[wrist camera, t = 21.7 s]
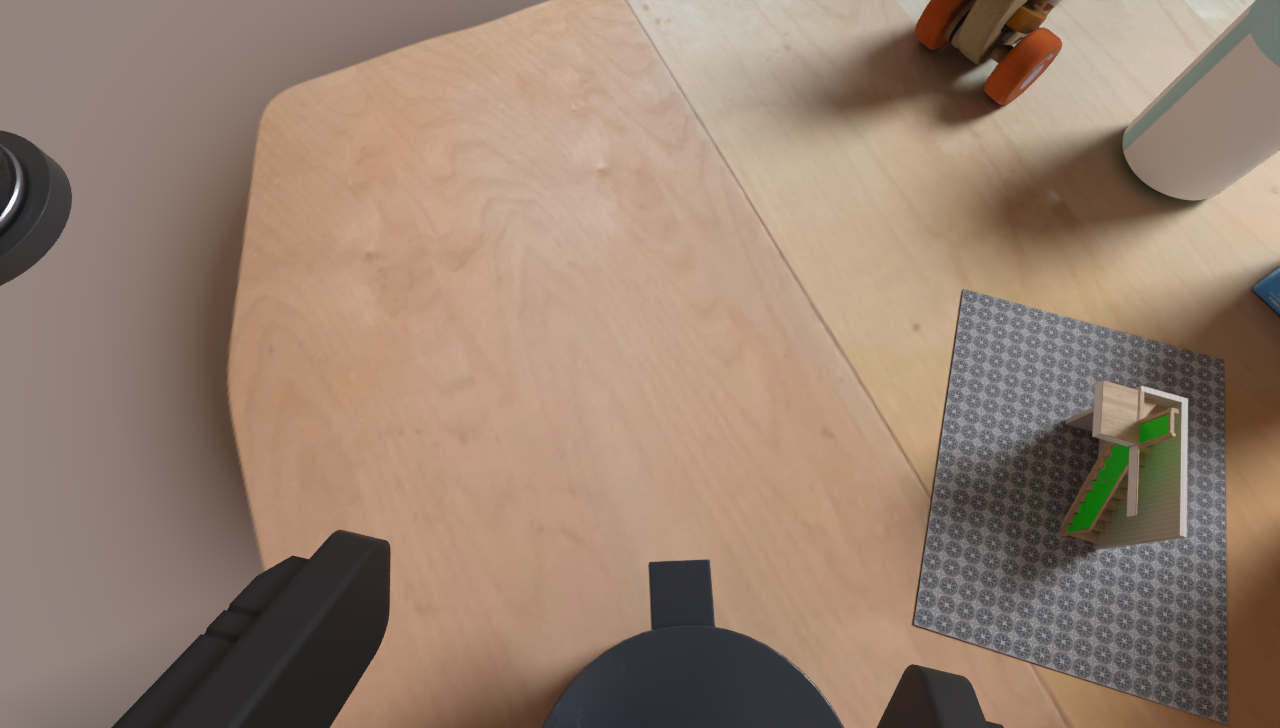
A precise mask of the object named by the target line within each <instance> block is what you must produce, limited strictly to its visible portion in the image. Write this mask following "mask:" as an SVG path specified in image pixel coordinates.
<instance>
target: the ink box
mask: <svg viewBox="0 0 1280 728" xmlns="http://www.w3.org/2000/svg"><path fill="white" fill-rule="evenodd" d="M1253 290H1254V291H1255V292H1256V293H1257V294H1258V295H1259V296H1260V297H1261V298H1262V299H1263V300H1264V301H1265V302H1267V303H1268V304H1269V306H1271V307H1272V308H1273V309H1274V310H1275V311H1276V312H1277V313H1278V314H1279V315H1280V267H1278V268H1277V269H1276V270H1274V271H1273V272H1272V273H1270V274H1269V275H1268V276H1266V277H1265V278H1264V279H1262V280H1261V281H1260V282H1259V283H1257V284H1256V285H1255V286H1254V287H1253Z"/></svg>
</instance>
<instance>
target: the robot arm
mask: <svg viewBox="0 0 1280 728" xmlns="http://www.w3.org/2000/svg"><path fill="white" fill-rule="evenodd" d="M28 194H29V176H28V172H27V170H26V167H25V166H24V164H23V163H22V161H21V160H20V159H19V158H18V157H17V156H16V155H15V154H13V153H12V152H11V151H9V150H8V149H7V148H5V147H4V146H3V145H1V144H0V237H1V236H2V235H3V234H4V233H5V232H6V231H7V230H8V229H9V228H10V227H11V226H12V225H13V224H14V222H15V221H16V220H17V218H18V217H19V215H20V214H21V212H22V210H23V208H24V206H25V204H26V201H27V198H28ZM389 607H390V545H389V542H388V541H386V540H382V539H378V538H374V537H369V536H365V535H361V534H357V533H353V532H348V531H344V530H338V531H335V532H334V533H333V534H332V535H331V536H330V537H329V538H328V539H327V540H326V541H325V542H324V543H323V544H322V546H321V547H320V548H319V549H318V550H317V551H316V552H315V553H314V555H313V556H312V557H311V558H310V559H305V558H301V557H296V556H291V557H289V558H288V559H286V560H284V561H282V562H281V563H279V564H277V565H275V566H274V567H272V568H270V569H268V570H267V571H265V572H263V573H262V574H260V575H258V576H256V577H255V579H254V580H253V581H252V582H251V583H250V584H249V585H248V586H247V587H246V588H245V589H244V590H243V591H242V592H241V593H240V594H239V595H238V596H237V597H236V598H235V599H234V601H232V603H231V604H230V606H229V608H228V610H227V611H226V610H224V611H223V612H222V613H221V614H220V615H219V616H218V617H217V618H216V619H215V620H214V621H213V622H212V623H211V624H210V625H209V627H208V628H207V631H206V633H205V634H204V635H200V636H199V637H198V638H197V639H196V640H195V641H194V642H193V643H192V644H191V646H189V647H188V648H187V649H186V651H185V652H184V653H183V654H182V655H181V656H180V657H179V658H178V659H177V660H176V661H175V662H174V663H173V664H172V665H171V666H170V667H169V668H168V669H167V670H166V671H165V672H164V673H163V674H162V675H161V677H160V678H159V679H158V680H157V681H156V682H155V683H154V684H153V685H152V686H151V687H150V688H149V689H148V690H147V691H146V692H145V693H144V694H143V695H142V696H141V697H140V698H139V699H138V700H137V702H136V703H135V704H134V705H133V706H132V707H131V708H130V709H129V710H128V711H127V712H126V713H125V714H124V715H123V716H122V717H121V718H120V719H119V720H118V721H117V722H116V723H115V724H114V726H113V727H112V728H330V726H331V725H332V723H333V721H334V720H335V718H336V717H337V715H338V713H339V712H340V710H341V709H342V707H343V705H344V704H345V702H346V701H347V699H348V697H349V696H350V694H351V693H352V691H353V689H354V688H355V686H356V685H357V683H358V681H359V680H360V678H361V677H362V675H363V673H364V672H365V670H366V669H367V667H368V665H369V664H370V662H371V661H372V659H373V658H374V656H375V654H376V652H377V650H378V648H379V646H380V644H381V642H382V639H383V637H384V634H385V631H386V627H387V623H388V619H389ZM877 728H1004V727H1003V726H1002V725H1000V724H996V723H992V722H987V721H986V720H985V718H984V715H983V713H982V710H981V707H980V705H979V702H978V699H977V697H976V694H975V691H974V689H973V687H972V685H971V683H970V681H969V680H968V679H967V678H965V677H964V676H960V675H956V674H952V673H947V672H943V671H939V670H935V669H931V668H926V667H922V666H918V665H913V664H912V665H910V666H908V667H907V668H906V670H905V671H904V673H903V675H902V677H901V679H900V681H899V683H898V685H897V687H896V689H895V692H894V694H893V696H892V698H891V700H890V702H889V704H888V706H887V708H886V710H885V712H884V714H883V716H882V718H881V720H880V722H879V724H878V726H877Z"/></svg>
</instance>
